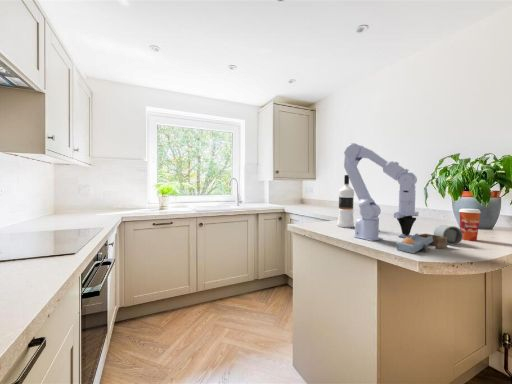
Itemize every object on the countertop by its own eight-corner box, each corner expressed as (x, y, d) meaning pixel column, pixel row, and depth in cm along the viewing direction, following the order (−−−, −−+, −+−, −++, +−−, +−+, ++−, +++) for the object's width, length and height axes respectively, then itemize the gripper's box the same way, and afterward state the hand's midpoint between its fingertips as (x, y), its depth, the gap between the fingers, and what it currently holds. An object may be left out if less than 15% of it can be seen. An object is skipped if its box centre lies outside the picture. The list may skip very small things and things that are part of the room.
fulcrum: (402, 247, 96) (402, 240, 96) (404, 246, 97) (405, 240, 97) (425, 252, 89) (426, 245, 89) (428, 251, 90) (428, 244, 90)
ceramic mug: (449, 240, 109) (449, 223, 109) (463, 245, 101) (463, 226, 100) (424, 240, 110) (424, 223, 110) (435, 244, 102) (435, 226, 102)
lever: (383, 246, 97) (382, 239, 97) (402, 235, 104) (402, 229, 103) (414, 254, 87) (413, 246, 87) (433, 241, 94) (433, 234, 93)
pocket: (415, 244, 101) (416, 235, 101) (424, 242, 104) (425, 233, 104) (438, 249, 94) (438, 238, 94) (446, 247, 97) (447, 237, 97)
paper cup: (460, 240, 110) (461, 209, 110) (455, 237, 117) (456, 207, 116) (482, 242, 106) (484, 210, 106) (477, 239, 113) (478, 208, 113)
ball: (401, 247, 92) (400, 237, 91) (406, 244, 93) (405, 235, 93) (411, 249, 89) (410, 239, 88) (416, 246, 90) (415, 237, 90)
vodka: (351, 228, 136) (353, 174, 135) (335, 226, 141) (336, 174, 140) (355, 226, 143) (357, 175, 142) (339, 224, 149) (340, 175, 148)
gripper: (407, 202, 94) (405, 238, 94) (426, 201, 101) (425, 234, 101) (389, 201, 100) (388, 234, 100) (409, 200, 107) (408, 231, 108)
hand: (405, 234), depth 101 cm, fingers closed
